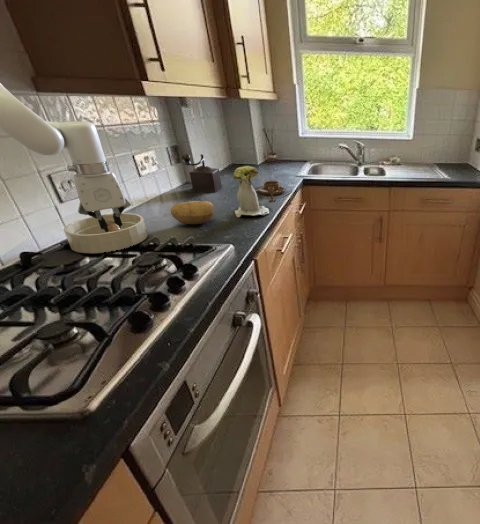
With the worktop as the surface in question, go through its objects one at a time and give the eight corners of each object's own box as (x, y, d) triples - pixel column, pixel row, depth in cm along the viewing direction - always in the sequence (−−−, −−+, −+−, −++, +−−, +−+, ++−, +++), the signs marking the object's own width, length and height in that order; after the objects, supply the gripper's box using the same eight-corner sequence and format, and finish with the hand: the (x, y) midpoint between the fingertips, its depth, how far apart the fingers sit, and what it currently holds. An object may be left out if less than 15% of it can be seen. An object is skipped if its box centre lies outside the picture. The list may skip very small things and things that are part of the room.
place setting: (295, 191, 162) (294, 179, 160) (274, 202, 145) (273, 189, 142) (263, 188, 166) (261, 176, 163) (239, 198, 149) (237, 185, 146)
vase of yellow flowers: (268, 218, 127) (263, 169, 119) (233, 219, 124) (225, 169, 116) (269, 208, 137) (265, 163, 129) (236, 209, 134) (229, 163, 126)
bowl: (57, 257, 92) (48, 237, 89) (88, 232, 109) (82, 214, 106) (137, 251, 97) (131, 232, 94) (155, 228, 114) (150, 211, 111)
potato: (177, 220, 121) (172, 198, 118) (218, 218, 125) (215, 197, 121) (170, 229, 113) (164, 207, 109) (214, 227, 116) (210, 205, 113)
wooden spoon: (123, 234, 98) (121, 226, 97) (112, 237, 97) (109, 228, 95) (112, 222, 107) (110, 215, 106) (102, 224, 105) (99, 216, 104)
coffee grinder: (199, 187, 164) (191, 149, 156) (222, 187, 165) (216, 149, 157) (186, 195, 150) (177, 154, 142) (212, 195, 151) (204, 154, 143)
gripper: (56, 174, 86) (81, 239, 94) (129, 167, 96) (146, 226, 105) (52, 169, 90) (77, 232, 99) (122, 163, 101) (139, 220, 109)
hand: (112, 229), depth 102 cm, fingers closed on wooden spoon, 2 cm apart
